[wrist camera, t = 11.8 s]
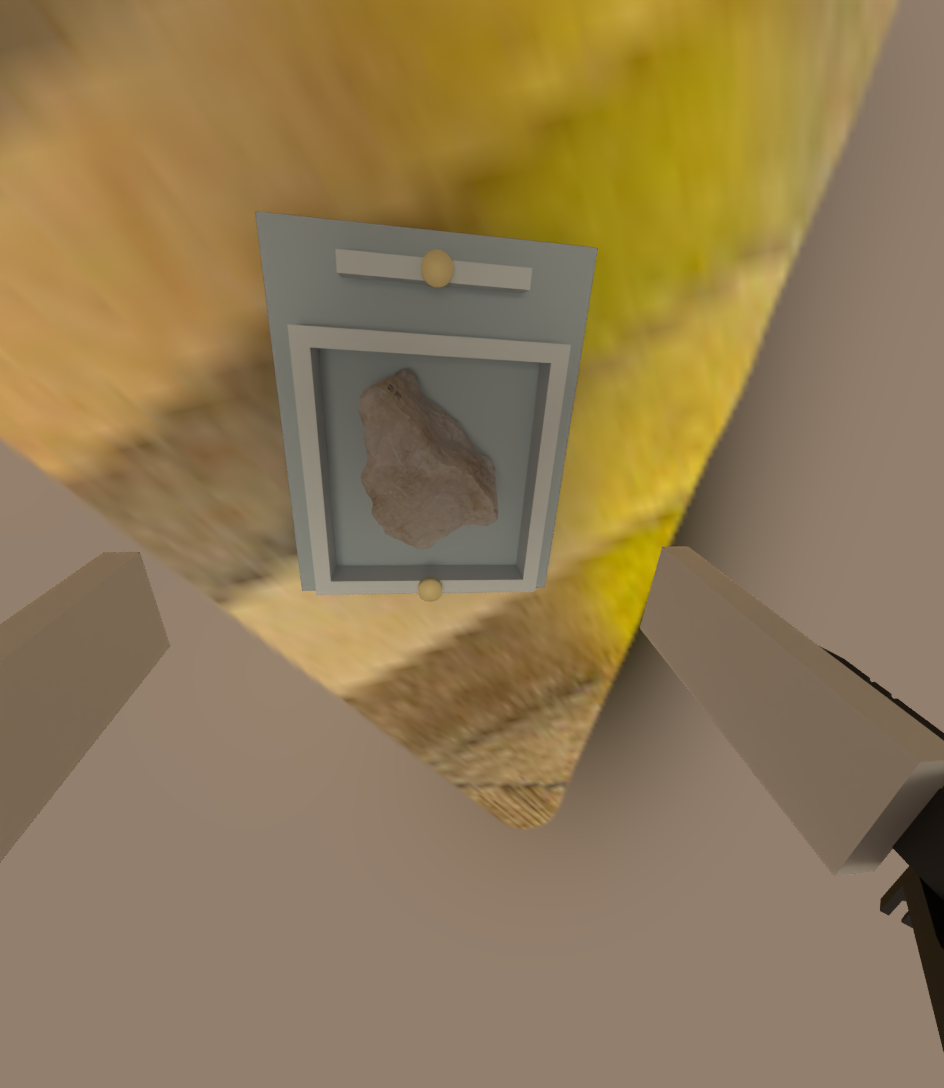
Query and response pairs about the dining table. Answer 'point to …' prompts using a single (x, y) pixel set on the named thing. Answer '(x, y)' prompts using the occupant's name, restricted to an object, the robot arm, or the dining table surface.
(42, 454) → the dining table surface
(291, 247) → the bracket board
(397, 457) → the stone
